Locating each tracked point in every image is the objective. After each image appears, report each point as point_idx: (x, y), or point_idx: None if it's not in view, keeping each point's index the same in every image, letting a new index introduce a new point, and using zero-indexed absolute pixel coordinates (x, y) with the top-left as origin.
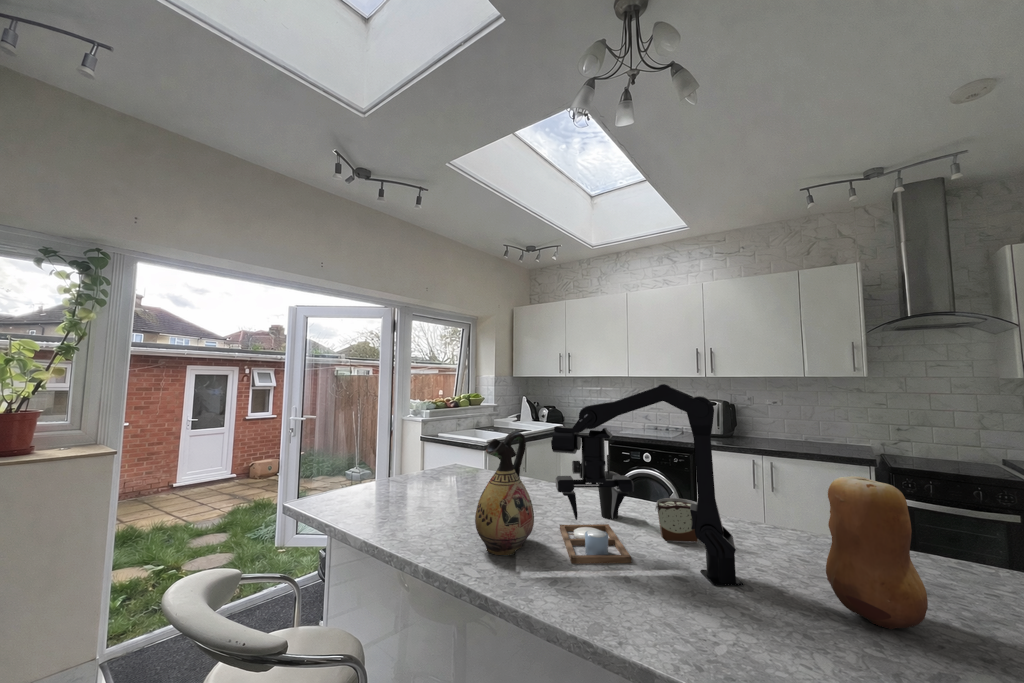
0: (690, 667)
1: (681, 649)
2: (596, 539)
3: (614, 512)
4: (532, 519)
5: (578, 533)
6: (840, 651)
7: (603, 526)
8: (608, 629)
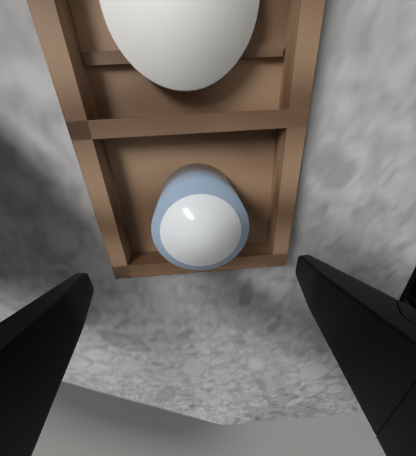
0: (250, 418)
1: (253, 406)
2: (194, 267)
3: (320, 321)
4: None
5: (126, 26)
6: None
7: None
8: (182, 393)
